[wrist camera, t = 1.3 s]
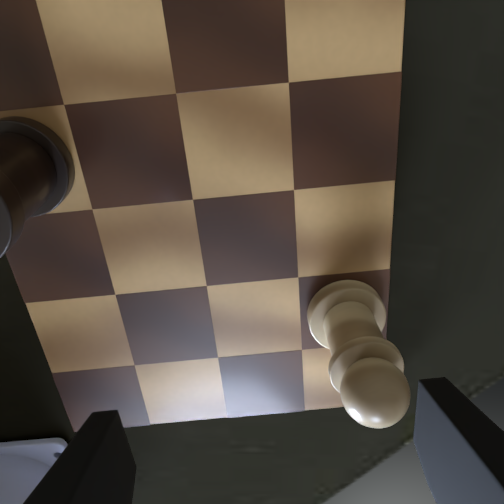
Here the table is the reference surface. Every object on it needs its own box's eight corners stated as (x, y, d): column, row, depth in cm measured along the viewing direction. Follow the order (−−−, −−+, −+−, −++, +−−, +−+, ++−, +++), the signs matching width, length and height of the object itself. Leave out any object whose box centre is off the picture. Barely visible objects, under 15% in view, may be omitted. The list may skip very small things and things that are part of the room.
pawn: (380, 337, 21) (431, 449, 16) (308, 344, 21) (333, 457, 16) (383, 275, 20) (441, 374, 14) (305, 282, 20) (332, 384, 14)
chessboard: (377, 390, 24) (382, 403, 23) (79, 418, 24) (73, 432, 23) (400, -62, 15) (410, -66, 14) (-80, -13, 15) (-98, -15, 14)
